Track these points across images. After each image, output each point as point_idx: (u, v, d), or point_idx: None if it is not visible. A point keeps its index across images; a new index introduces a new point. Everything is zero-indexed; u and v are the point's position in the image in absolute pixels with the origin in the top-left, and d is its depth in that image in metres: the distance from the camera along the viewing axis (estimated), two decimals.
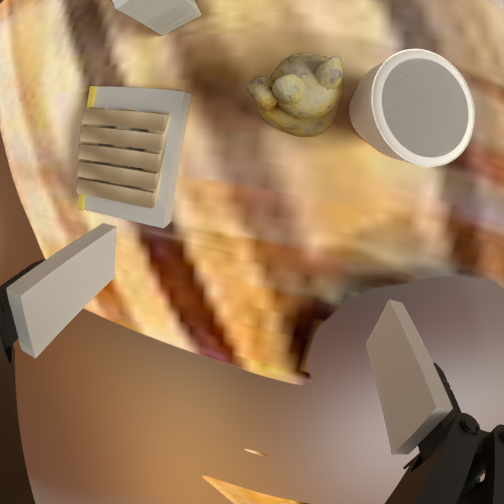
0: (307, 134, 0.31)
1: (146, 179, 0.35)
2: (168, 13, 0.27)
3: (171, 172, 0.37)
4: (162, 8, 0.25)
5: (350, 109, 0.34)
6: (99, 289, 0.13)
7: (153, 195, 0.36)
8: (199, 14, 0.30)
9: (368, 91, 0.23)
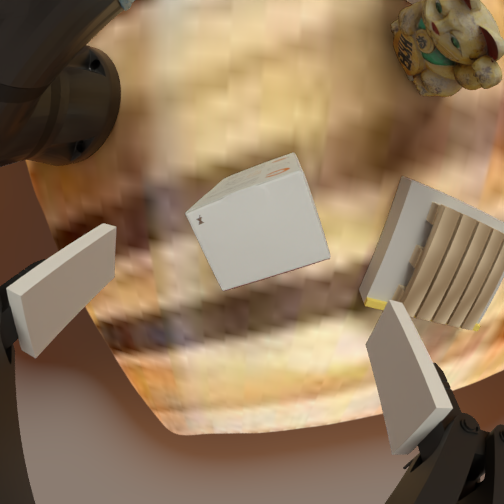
0: None
1: (495, 241, 0.25)
2: None
3: (483, 212, 0.27)
4: None
5: None
6: (99, 289, 0.13)
7: None
8: (295, 154, 0.29)
9: None
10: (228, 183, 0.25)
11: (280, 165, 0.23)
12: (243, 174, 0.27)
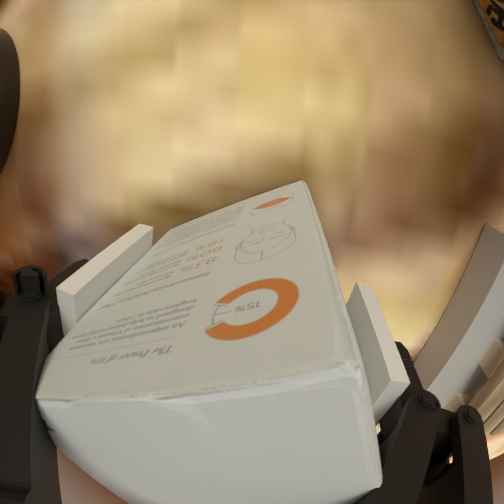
0: None
1: None
2: None
3: None
4: None
5: None
6: None
7: None
8: None
9: None
10: (149, 271, 0.10)
11: (270, 240, 0.08)
12: (192, 238, 0.12)
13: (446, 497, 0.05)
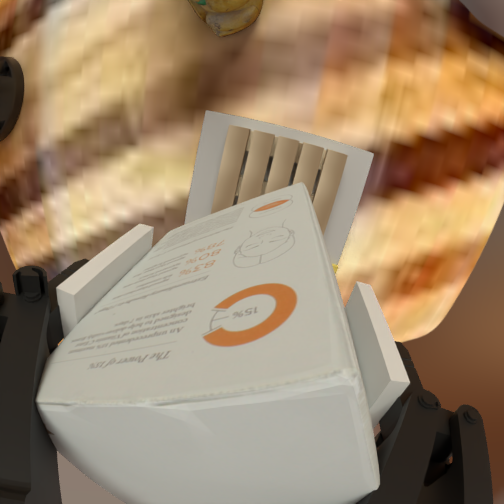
0: None
1: (310, 155, 0.28)
2: None
3: (305, 132, 0.30)
4: (344, 309, 0.09)
5: None
6: None
7: (331, 150, 0.28)
8: (305, 186, 0.14)
9: None
10: (148, 274, 0.10)
11: (269, 244, 0.08)
12: (191, 240, 0.12)
13: (446, 497, 0.05)
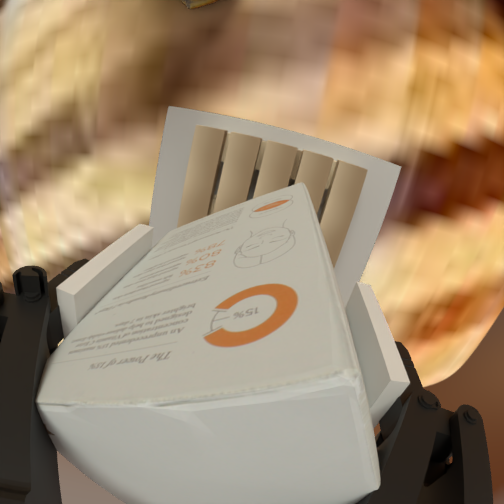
0: None
1: (313, 170, 0.19)
2: None
3: (306, 135, 0.21)
4: None
5: None
6: None
7: (344, 162, 0.19)
8: (305, 186, 0.14)
9: None
10: (148, 274, 0.10)
11: (269, 244, 0.08)
12: (191, 240, 0.12)
13: (446, 497, 0.05)
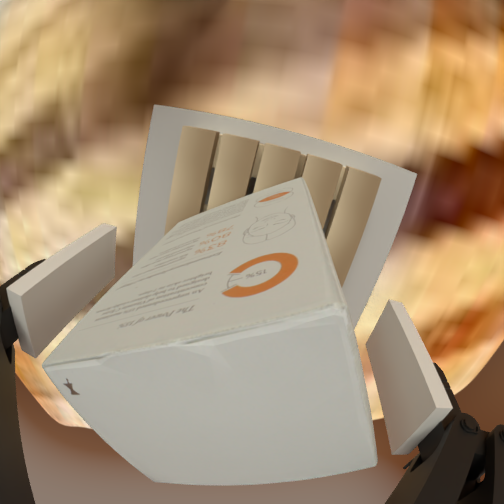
0: None
1: (319, 178, 0.16)
2: None
3: None
4: None
5: None
6: (99, 289, 0.13)
7: (354, 168, 0.16)
8: (304, 181, 0.16)
9: None
10: (164, 255, 0.12)
11: (273, 226, 0.10)
12: (201, 227, 0.14)
13: None
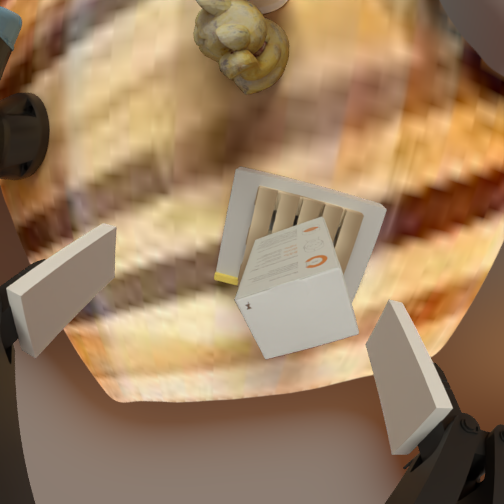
0: (285, 40, 0.26)
1: (331, 216, 0.32)
2: None
3: (326, 190, 0.34)
4: None
5: None
6: (99, 289, 0.13)
7: (349, 210, 0.32)
8: (323, 219, 0.32)
9: None
10: (266, 257, 0.27)
11: (315, 245, 0.25)
12: (278, 244, 0.29)
13: None
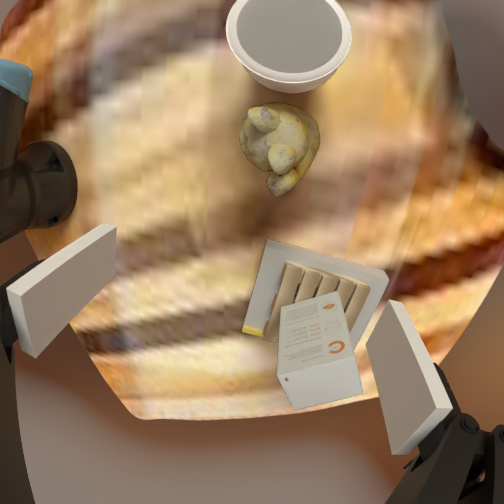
0: (318, 136, 0.32)
1: (344, 290, 0.39)
2: None
3: (340, 265, 0.41)
4: None
5: None
6: (99, 289, 0.13)
7: (359, 285, 0.39)
8: (338, 293, 0.38)
9: None
10: (295, 333, 0.34)
11: (334, 328, 0.32)
12: (303, 319, 0.36)
13: None
